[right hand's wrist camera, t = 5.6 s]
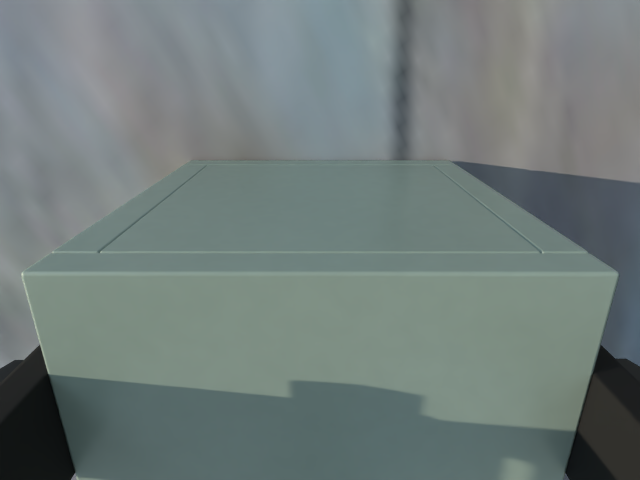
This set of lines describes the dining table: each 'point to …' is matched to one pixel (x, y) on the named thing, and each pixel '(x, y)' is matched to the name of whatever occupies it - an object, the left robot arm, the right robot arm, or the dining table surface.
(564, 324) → the cabinet
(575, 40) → the dining table surface
